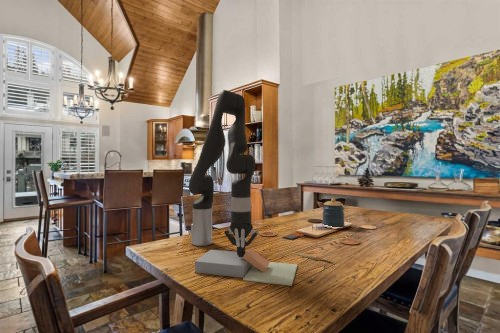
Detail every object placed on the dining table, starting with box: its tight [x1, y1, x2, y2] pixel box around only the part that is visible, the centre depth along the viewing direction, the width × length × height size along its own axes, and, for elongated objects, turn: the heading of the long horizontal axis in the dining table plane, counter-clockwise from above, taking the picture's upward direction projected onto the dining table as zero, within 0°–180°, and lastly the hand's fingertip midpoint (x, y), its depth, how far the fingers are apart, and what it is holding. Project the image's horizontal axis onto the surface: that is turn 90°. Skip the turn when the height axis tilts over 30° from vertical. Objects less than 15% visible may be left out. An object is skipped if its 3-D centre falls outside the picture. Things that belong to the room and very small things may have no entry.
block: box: [243, 248, 271, 272], centre depth 101 cm, size 9×6×2 cm
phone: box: [281, 231, 305, 241], centre depth 149 cm, size 6×1×15 cm
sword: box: [285, 250, 334, 264], centre depth 117 cm, size 25×4×1 cm, turn 47°
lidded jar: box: [321, 197, 345, 228], centre depth 170 cm, size 13×13×18 cm
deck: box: [194, 249, 253, 279], centre depth 104 cm, size 18×14×4 cm
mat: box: [242, 261, 298, 287], centre depth 99 cm, size 16×18×1 cm
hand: (241, 256), depth 102 cm, fingers closed
